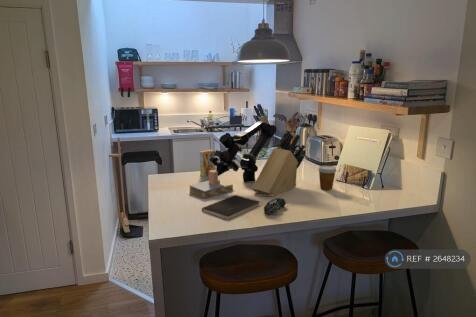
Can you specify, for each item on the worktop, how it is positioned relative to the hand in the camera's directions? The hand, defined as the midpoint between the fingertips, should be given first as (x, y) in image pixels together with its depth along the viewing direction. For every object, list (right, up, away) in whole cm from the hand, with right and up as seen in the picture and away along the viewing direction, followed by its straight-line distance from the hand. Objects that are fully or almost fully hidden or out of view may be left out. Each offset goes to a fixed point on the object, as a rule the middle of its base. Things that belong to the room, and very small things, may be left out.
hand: (215, 176), depth 186 cm
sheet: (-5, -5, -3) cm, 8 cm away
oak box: (-2, -8, 0) cm, 8 cm away
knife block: (+35, -7, +5) cm, 36 cm away
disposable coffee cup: (+60, -7, +4) cm, 61 cm away
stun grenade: (+29, -15, -27) cm, 43 cm away
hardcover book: (+9, -14, -24) cm, 29 cm away
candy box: (-7, -1, +32) cm, 33 cm away
